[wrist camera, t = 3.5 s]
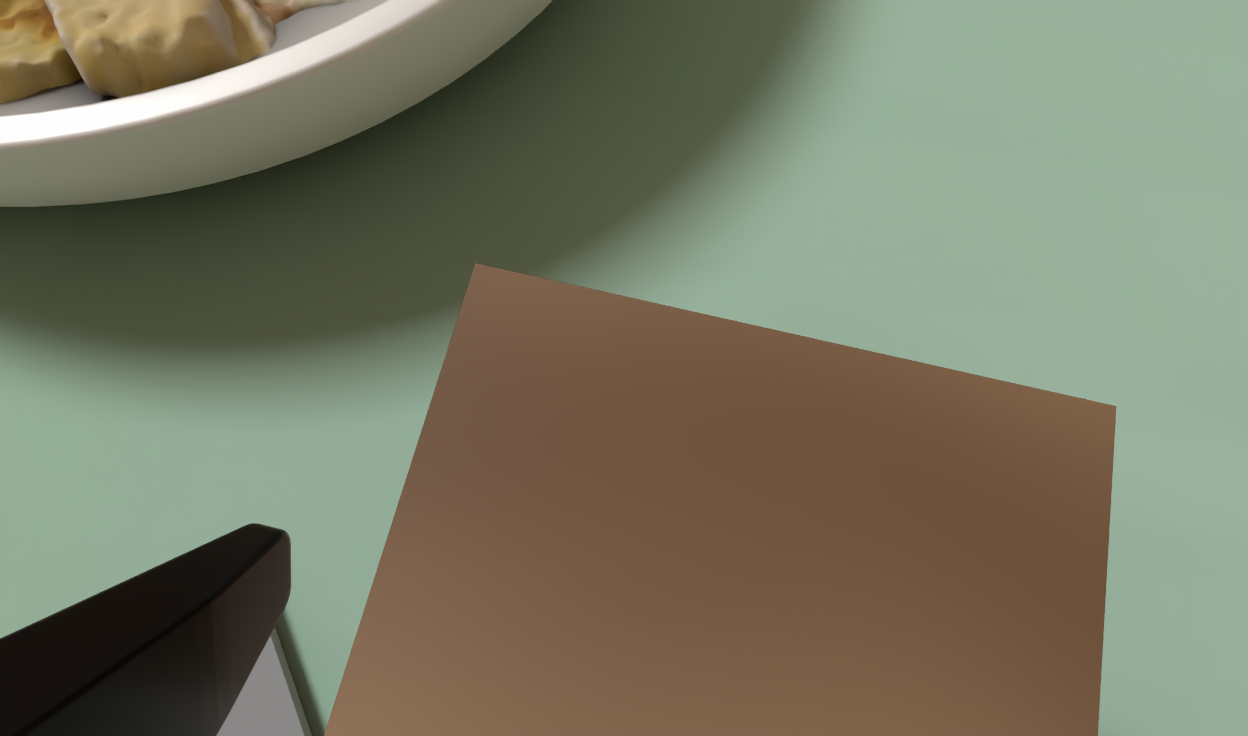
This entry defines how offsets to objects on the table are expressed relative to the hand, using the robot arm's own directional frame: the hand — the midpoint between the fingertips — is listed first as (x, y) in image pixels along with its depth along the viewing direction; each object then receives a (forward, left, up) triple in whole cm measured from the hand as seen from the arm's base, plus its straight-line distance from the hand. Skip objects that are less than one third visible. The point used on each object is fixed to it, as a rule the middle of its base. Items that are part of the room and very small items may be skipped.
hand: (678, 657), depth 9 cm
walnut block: (0, 0, -8) cm, 8 cm away
